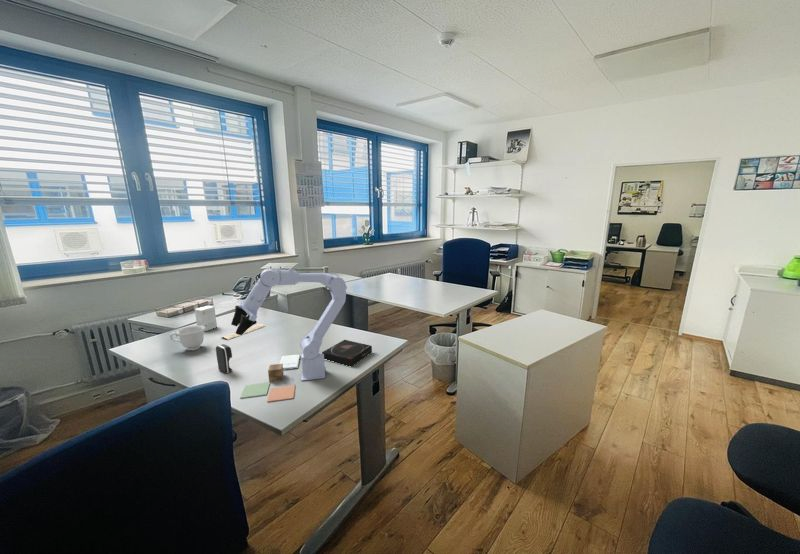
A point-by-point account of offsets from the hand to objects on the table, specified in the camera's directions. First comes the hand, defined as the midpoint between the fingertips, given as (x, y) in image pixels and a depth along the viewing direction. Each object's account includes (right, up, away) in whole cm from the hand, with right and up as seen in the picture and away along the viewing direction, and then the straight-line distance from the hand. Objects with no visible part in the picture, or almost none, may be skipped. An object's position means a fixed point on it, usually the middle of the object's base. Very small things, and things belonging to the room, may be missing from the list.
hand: (236, 329), depth 119 cm
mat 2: (+16, -25, +2) cm, 30 cm away
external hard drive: (+11, -20, +26) cm, 35 cm away
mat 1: (+5, -24, +4) cm, 25 cm away
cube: (+10, -22, +13) cm, 28 cm away
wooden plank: (-29, -13, +65) cm, 72 cm away
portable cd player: (+36, -19, +33) cm, 52 cm away
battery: (-15, -21, +20) cm, 33 cm away
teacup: (-45, -17, +42) cm, 64 cm away
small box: (-53, -11, +70) cm, 88 cm away
